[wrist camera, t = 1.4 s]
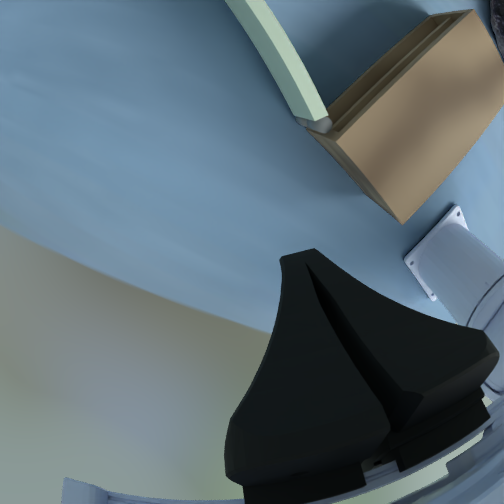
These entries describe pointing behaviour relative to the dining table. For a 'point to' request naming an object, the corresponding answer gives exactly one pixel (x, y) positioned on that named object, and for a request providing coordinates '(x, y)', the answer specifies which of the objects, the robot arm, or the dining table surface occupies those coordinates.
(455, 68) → the cabinet
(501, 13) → the crystal cluster
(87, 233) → the dining table surface
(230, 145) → the dining table surface
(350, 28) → the dining table surface
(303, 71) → the door
